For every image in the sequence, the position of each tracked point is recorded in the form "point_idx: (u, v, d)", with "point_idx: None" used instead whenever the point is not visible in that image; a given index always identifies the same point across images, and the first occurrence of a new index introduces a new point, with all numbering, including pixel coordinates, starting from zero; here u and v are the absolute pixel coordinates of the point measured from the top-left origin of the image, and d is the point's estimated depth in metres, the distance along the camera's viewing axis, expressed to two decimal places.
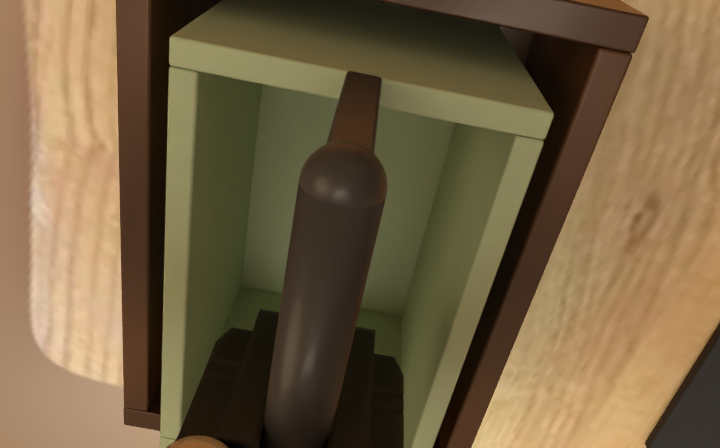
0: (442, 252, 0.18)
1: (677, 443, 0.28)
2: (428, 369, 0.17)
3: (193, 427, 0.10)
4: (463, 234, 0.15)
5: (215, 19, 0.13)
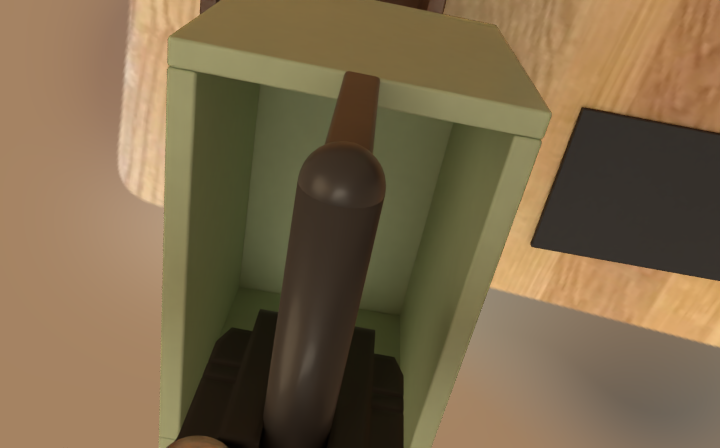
0: (440, 252, 0.18)
1: (550, 240, 0.41)
2: (427, 368, 0.17)
3: (193, 427, 0.10)
4: (461, 234, 0.15)
5: (213, 19, 0.13)
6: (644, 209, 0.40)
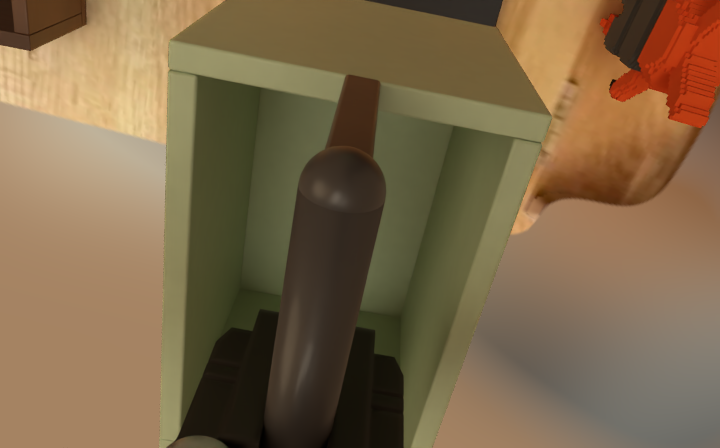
0: (441, 254, 0.18)
1: None
2: (427, 371, 0.17)
3: (193, 427, 0.10)
4: (462, 236, 0.15)
5: (214, 22, 0.13)
6: None
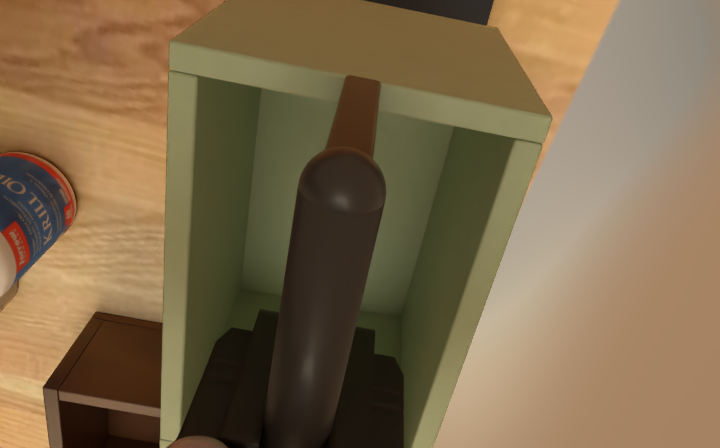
0: (441, 254, 0.18)
1: None
2: (427, 371, 0.17)
3: (193, 427, 0.10)
4: (462, 237, 0.15)
5: (215, 23, 0.13)
6: None
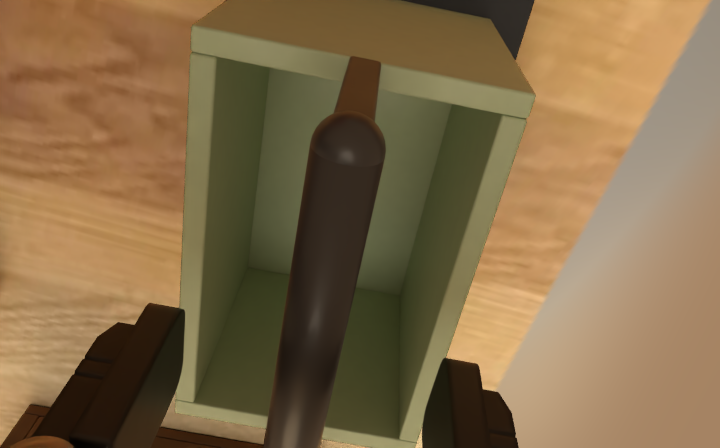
0: (437, 229, 0.19)
1: None
2: (424, 336, 0.18)
3: (51, 426, 0.10)
4: (456, 209, 0.17)
5: (230, 10, 0.15)
6: None
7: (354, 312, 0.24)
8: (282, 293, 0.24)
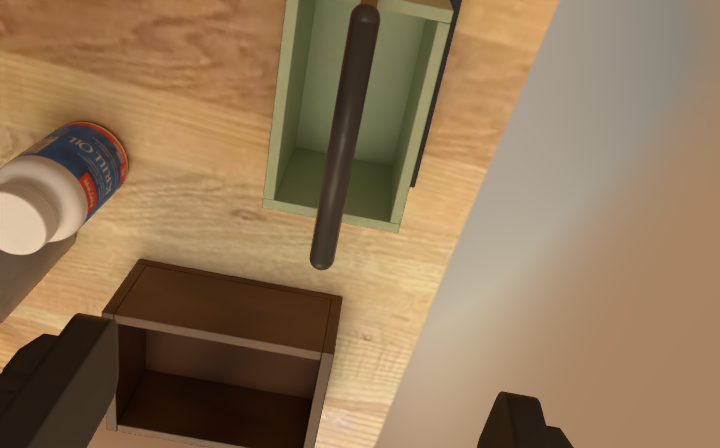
0: (412, 103, 0.33)
1: None
2: (403, 157, 0.32)
3: None
4: (420, 82, 0.31)
5: None
6: None
7: (363, 171, 0.38)
8: (318, 160, 0.38)
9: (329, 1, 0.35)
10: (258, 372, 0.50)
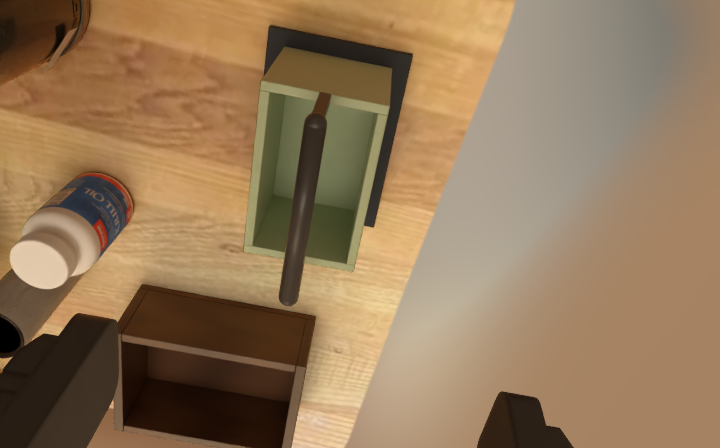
0: (364, 167, 0.41)
1: (366, 214, 0.48)
2: (356, 212, 0.40)
3: None
4: (368, 154, 0.39)
5: (273, 72, 0.36)
6: None
7: (329, 216, 0.46)
8: (291, 207, 0.46)
9: None
10: (245, 380, 0.58)
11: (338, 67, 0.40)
